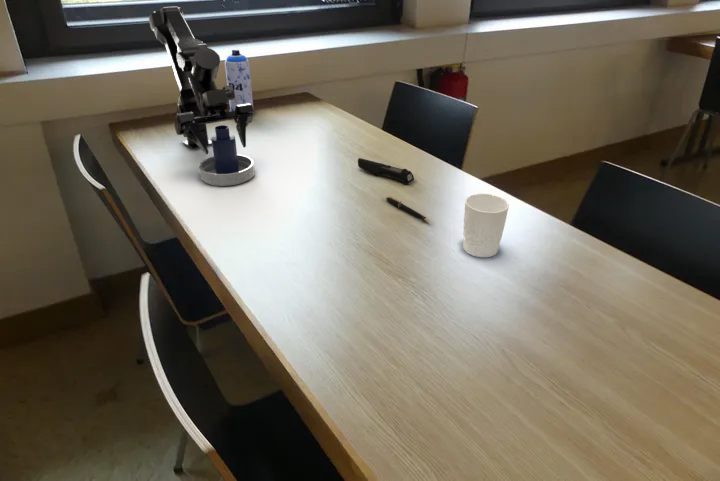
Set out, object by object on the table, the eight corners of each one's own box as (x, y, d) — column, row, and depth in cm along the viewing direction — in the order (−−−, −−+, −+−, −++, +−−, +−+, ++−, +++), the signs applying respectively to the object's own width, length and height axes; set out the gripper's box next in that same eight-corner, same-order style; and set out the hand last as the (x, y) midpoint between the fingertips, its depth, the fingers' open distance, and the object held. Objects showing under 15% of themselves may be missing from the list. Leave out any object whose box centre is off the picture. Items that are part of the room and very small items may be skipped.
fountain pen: (432, 223, 112) (432, 217, 111) (428, 225, 111) (428, 219, 111) (387, 199, 122) (388, 193, 121) (383, 200, 121) (384, 194, 120)
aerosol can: (226, 116, 172) (218, 52, 162) (235, 109, 179) (228, 47, 169) (249, 117, 171) (243, 53, 161) (257, 110, 178) (252, 48, 168)
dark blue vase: (217, 170, 134) (210, 124, 128) (239, 169, 134) (234, 123, 128) (215, 179, 129) (208, 131, 123) (238, 178, 130) (233, 130, 124)
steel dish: (191, 174, 132) (189, 162, 131) (237, 161, 140) (236, 150, 138) (216, 191, 124) (215, 179, 122) (264, 177, 131) (263, 165, 130)
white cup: (503, 242, 106) (510, 197, 101) (498, 262, 99) (506, 215, 94) (463, 235, 108) (469, 190, 103) (456, 255, 101) (462, 208, 96)
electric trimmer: (363, 166, 138) (363, 155, 137) (414, 180, 131) (415, 168, 129) (354, 171, 136) (354, 159, 134) (407, 185, 128) (407, 173, 126)
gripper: (169, 79, 118) (190, 141, 116) (248, 69, 127) (270, 127, 124) (166, 105, 128) (186, 163, 126) (240, 94, 136) (260, 149, 134)
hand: (226, 150), depth 127 cm, fingers open, 9 cm apart
